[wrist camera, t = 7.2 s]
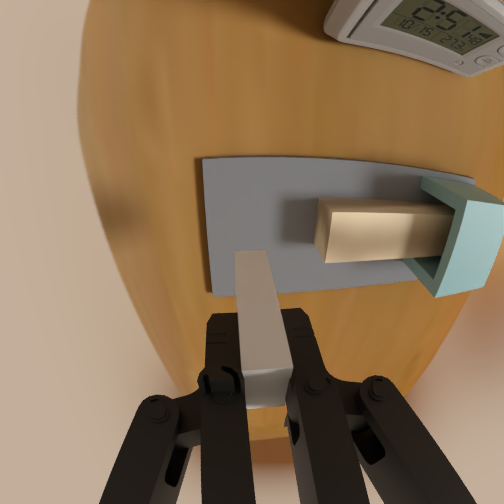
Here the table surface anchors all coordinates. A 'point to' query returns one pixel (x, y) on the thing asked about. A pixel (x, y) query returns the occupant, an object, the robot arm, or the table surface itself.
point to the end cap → (462, 239)
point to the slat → (380, 229)
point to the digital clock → (425, 30)
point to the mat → (299, 216)
